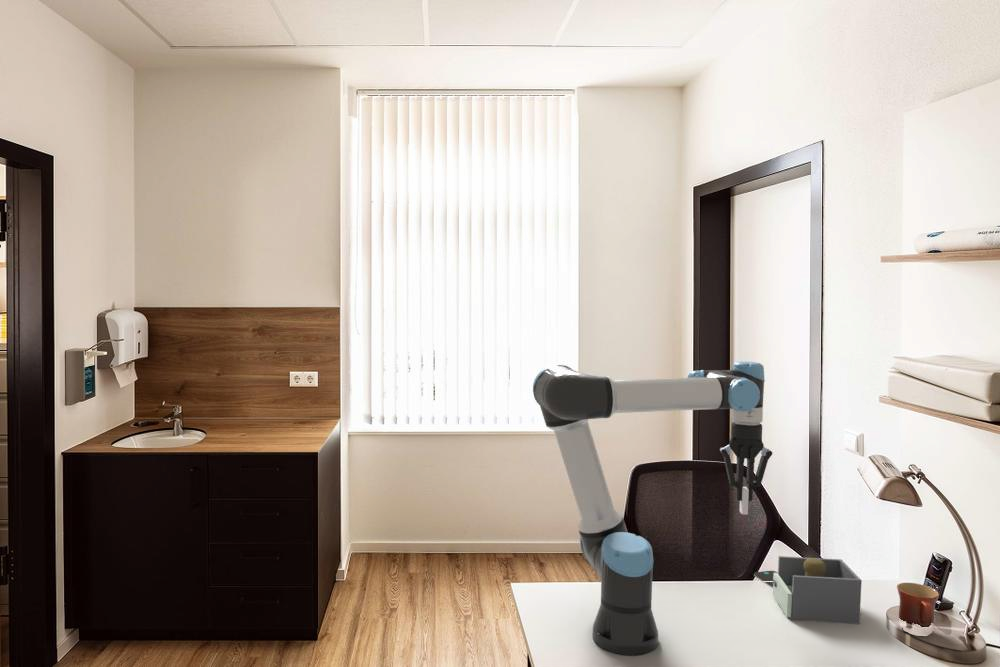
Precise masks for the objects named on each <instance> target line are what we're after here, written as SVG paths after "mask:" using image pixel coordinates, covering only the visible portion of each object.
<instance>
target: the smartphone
mask: <svg viewBox="0 0 1000 667" xmlns="http://www.w3.org/2000/svg"><path fill="white" fill-rule="evenodd" d="M774 573H778V571H775V570H765V571H755V572H754V573H753V576H754V577H755V578H757V579H758V580H760V581H761V582H763V581H773V574H774ZM763 583H764V584H766V585H767V586H769V587H770V588H772V589H773V582H763Z"/></svg>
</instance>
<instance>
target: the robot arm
mask: <svg viewBox="0 0 1000 667" xmlns="http://www.w3.org/2000/svg"><path fill="white" fill-rule="evenodd" d="M764 367H765V366H764V365H763V364H762V363H760V362H755V361H736V362H734V363H733V366H732V369H730V370H729V369H728V370H726V369H725V370H724V369H722V370H719V369H717V370H713V369H711V370H707V369H705V370H704V369H701V370H692V371H690V372H689V374H688V375H687V377H679V378H678V377H675V378H674V377H673V378H647V379H645V378H644V379H643V378H642V379H639V378H638V379H612V378H611V377H610V376H609V375H591V374H586V373H582V372H579V371H576V370H574V369H573V368H571V367H569V366H567V365H564V364H554V365H549V366H546V367H545V368H544V367H543V369H542V370H540V372H538V374H537V375H536V377H535V379H534V381H533V384H532V393H533V397H534V400H535V401H536V403H537V404H538V405H539V407H540V410H541V413H542V416H543V420H544V423H545V426H546V427H547V428H548V429H550V430H551V431H553V432H554V435H555V438H556V440H557V445H558V447H559V451H560V454H561V457H562V460H563V464H564V467H565V469H566V470H565V471H566V474H567V476H568V480H569V483H570V486H571V489H572V494H573V496H574V499H575V500H574V501H575V502H576V505H577V509H578V513H579V516H580V520H579V522H578V524H577V530H578V533H579V544H580V550H581V551H582V552H581V553H582V555H583V557H584V558H585V561H587V562H588V563H589V564H590V565H591V566H592V568H593V569H594V570H595V572H596V573H597V574H598V576H599V577H600V580H601V581H600V583H601V584H600V605H599V608H598V611H597V613H596V616H595V619H594V621H593V624H592V639H593V641H594V643H595V644H596V645H597V646H599V647H600V648H602V649H603V650H606V651H608V652H611V653H615V654H619V655H627V656H636V655H644V654H647V653H650V652H652V651H654V650H656V648H657V647H658V645H659V631H658V630H659V629H658V628H657V624H656V621H655V616H654V613H653V610H652V600H653V599H652V597H653V596H652V595H653V568H654V555H653V547H652V545H651V544H650V542H649V541H648V540H647V539H646V538H644V537H643V536H641V535H637V534H635V533H631V532H628V529H627V526H626V523H625V520H624V516H623V514H622V512H620V511H619V510H617V509H615V507H614V504H613V501H612V497H611V494H610V491H609V487H608V484H607V481H606V477H605V474H604V471H603V467H602V465H601V461H600V458H599V453H598V451H597V448H596V444H595V441H594V438H593V437H594V436H593V434H592V431H591V428H590V424H589V422H588V421H589V420H595V419H596V420H597V419H598V420H599V419H611V417H612V416H613V415H614V414H625V413H626V414H629V413H631V414H632V413H649V412H650V413H653V412H656V413H657V412H676V411H677V412H678V411H697V410H698V411H701V410H729V409H730V410H731V420H732V422H731V424H730V427H731V428H730V440H729V441H728V444H727V445H726V446H724V447H722V446H721V447H720V448H719V451H720V453H721V455H722V456H723V460H724V465H725V469H726V473H727V479H728V482H729V485H730V486H732V487H735V498H736V500H737V501H738V502H739V513H740V514H741V515H748V514H749V502H752V501H753V497H754V496H753V493H754V490H755V488H760V487H761V485H762V483H763V479H764V475H765V471H766V469H767V465H768V461H769V460H770V458H771V457H772V455H773V452H772V450H771V449H769V448H767V447H765V445H764V443H763V424H762V423H763V421H764V420H763V419H764V418H763V414H764V413H763V409H764V393H765V392H764V389H765V388H764V387H765V381H766V380H765V368H764ZM731 451H732V452H733V454H734V455H735V456H736V473H735V474H736V475H735V474H734V469H733V464H732V460H731V457H730V455H731ZM759 454H761V456H760V457H759V458H760V459H759V462H758V466H757V470H756V472H755V462H756V460H755V459H756V458H757V456H758V455H759ZM745 460H746V480H745V481H746V482H745V484H746V486H744V469H745V468H744V467H745V466H744V465H745ZM754 475H755V476H754Z"/></svg>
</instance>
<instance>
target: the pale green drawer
mask: <svg viewBox="0 0 1000 667" xmlns="http://www.w3.org/2000/svg"><path fill="white" fill-rule="evenodd" d="M772 595H773V597H774V599H775V600H776V602H777V604H778V606H780V608H781V610H782V611H783V613H784V615H785V616H786V618H791V609H792V586H786V584H785V583H784V582H783V580H782V579H781V577H780V576H779V574H778V573H774V574H773V588H772Z"/></svg>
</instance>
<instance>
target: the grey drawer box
mask: <svg viewBox="0 0 1000 667" xmlns="http://www.w3.org/2000/svg"><path fill="white" fill-rule="evenodd" d="M808 558H809V557H802V556H801V557H799V556H783V555H782V556H780V555H778V560H777V561H778V566H777V572H778V574H779V576H780V577H781V579H782V580H783V582H784V583H785V584H786V586H792V609H791V617H790V619H791V620H792V621H806V622H823V623H836V624H837V623H841V624H857V625H860V623H861V621H860V620H861V618H860V617H861V600H862V598H861V597H862V579H861V578H860V577H859V576H858V574H856V573H855V572H854V571H853V570H852V569H851V568H850V567H849V566H848V565H847V564H846V562H844V561H843V559H839V558H838V559H837V558H821V557H820V558H819V557H815V558H816V559H819V560H821V561H823V562H824V564H825V566H826V570H825V572H824V574H823V577H815V576H805V572H806V571H805V570H804V561H805V560H806V559H808Z"/></svg>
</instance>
